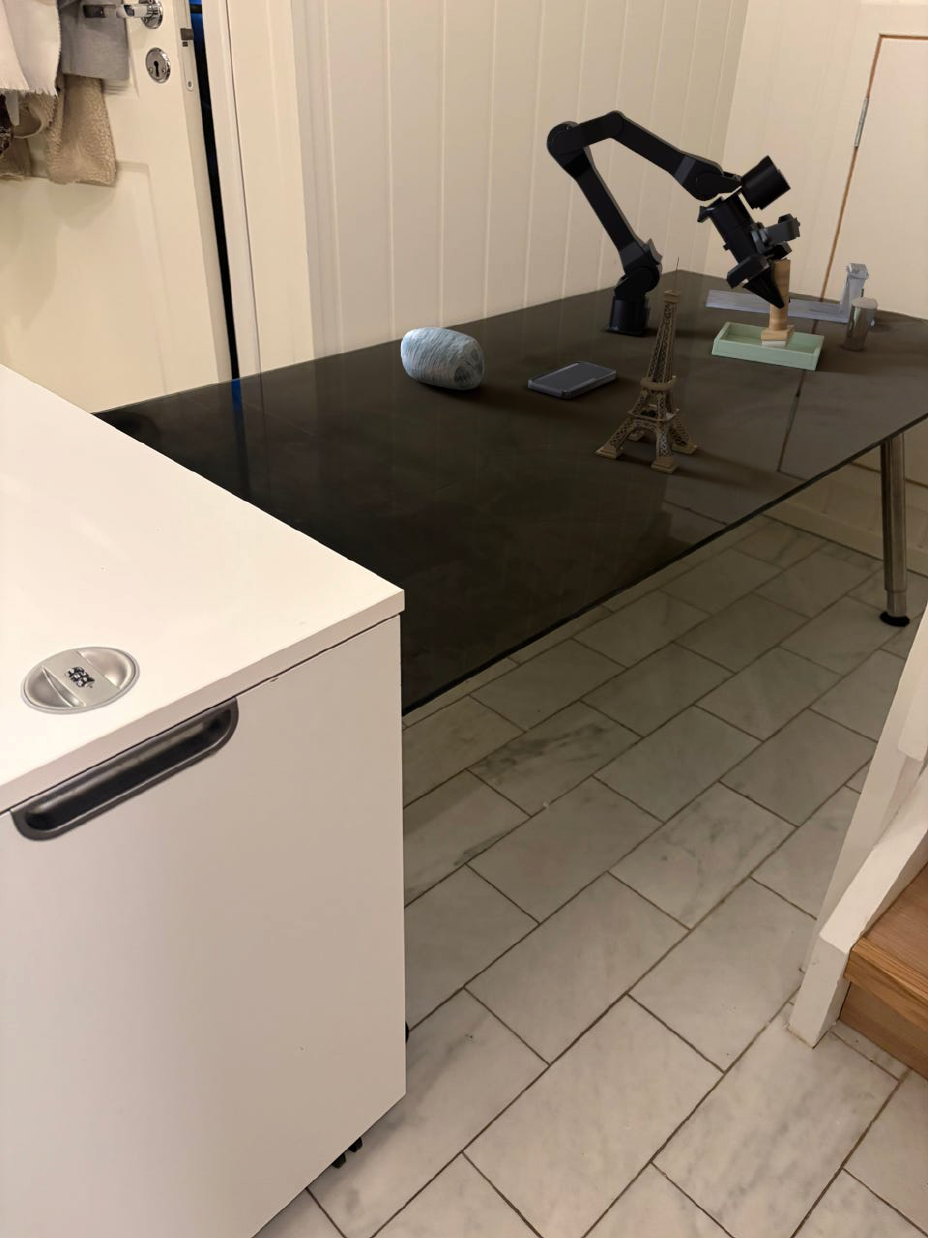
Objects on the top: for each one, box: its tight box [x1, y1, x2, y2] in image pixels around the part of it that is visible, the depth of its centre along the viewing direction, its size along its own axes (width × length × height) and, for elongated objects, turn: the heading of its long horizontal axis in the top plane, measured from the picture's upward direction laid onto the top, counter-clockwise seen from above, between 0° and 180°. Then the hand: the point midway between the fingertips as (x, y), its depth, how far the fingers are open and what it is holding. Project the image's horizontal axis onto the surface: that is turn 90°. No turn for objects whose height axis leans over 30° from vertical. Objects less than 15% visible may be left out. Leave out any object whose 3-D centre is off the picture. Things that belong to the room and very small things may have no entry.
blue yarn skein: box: [400, 326, 486, 391], centre depth 145 cm, size 14×10×10 cm
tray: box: [711, 321, 825, 371], centre depth 169 cm, size 18×14×3 cm
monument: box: [705, 262, 875, 327], centre depth 195 cm, size 12×33×10 cm, turn 75°
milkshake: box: [843, 288, 879, 352], centre depth 173 cm, size 4×5×10 cm
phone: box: [527, 360, 617, 400], centre depth 150 cm, size 8×1×15 cm
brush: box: [761, 258, 796, 347], centre depth 165 cm, size 6×4×14 cm
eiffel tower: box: [594, 256, 699, 475], centre depth 121 cm, size 11×11×25 cm
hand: (785, 305), depth 165 cm, fingers closed on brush, 3 cm apart
